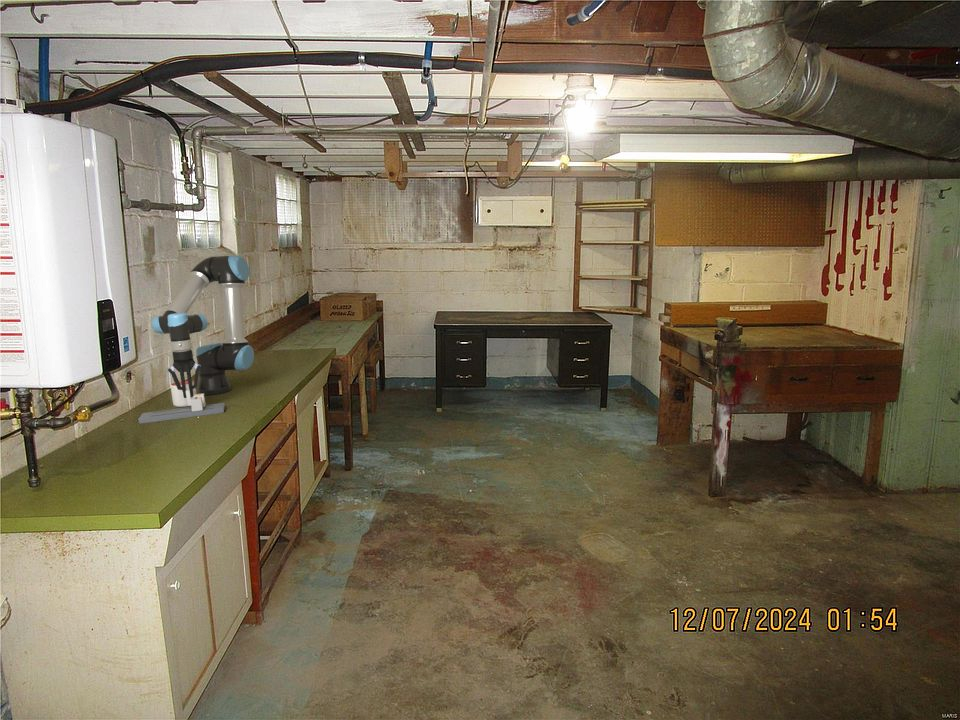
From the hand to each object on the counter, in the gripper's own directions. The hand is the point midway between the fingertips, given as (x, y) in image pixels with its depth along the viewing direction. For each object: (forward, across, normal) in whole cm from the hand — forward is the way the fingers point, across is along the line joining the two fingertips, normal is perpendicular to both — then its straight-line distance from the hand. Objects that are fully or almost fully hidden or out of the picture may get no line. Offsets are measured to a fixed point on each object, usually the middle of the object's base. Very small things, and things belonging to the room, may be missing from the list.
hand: (189, 404), depth 271 cm
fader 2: (+1, +3, -6) cm, 7 cm away
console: (+3, -3, -3) cm, 5 cm away
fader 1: (+1, +4, 0) cm, 4 cm away
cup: (+4, -4, +17) cm, 18 cm away
